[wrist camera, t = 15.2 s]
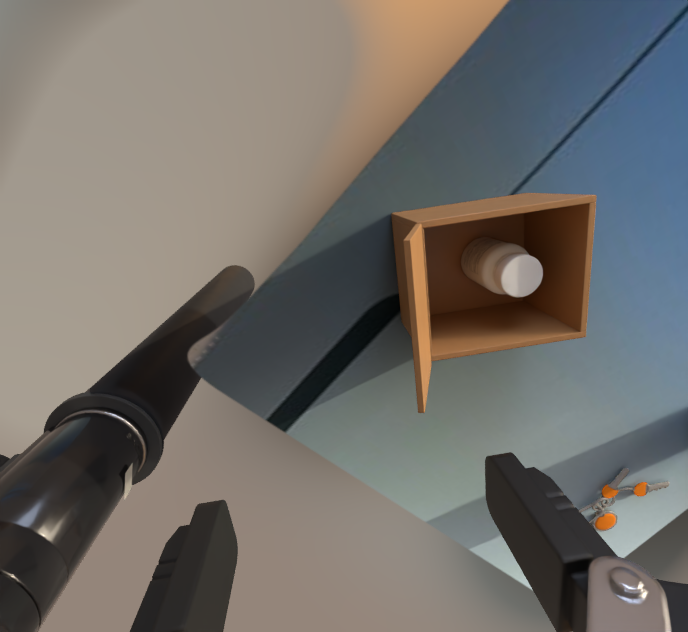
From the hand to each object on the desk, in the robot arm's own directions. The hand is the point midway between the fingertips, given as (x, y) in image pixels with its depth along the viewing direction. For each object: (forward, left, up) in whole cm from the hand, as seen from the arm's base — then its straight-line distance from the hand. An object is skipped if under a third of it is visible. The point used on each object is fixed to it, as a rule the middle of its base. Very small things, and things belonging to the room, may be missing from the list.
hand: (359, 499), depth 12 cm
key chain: (+32, -34, -27) cm, 54 cm away
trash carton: (+13, 0, -27) cm, 30 cm away
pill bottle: (+15, 0, -27) cm, 31 cm away
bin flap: (+6, 0, -14) cm, 15 cm away
